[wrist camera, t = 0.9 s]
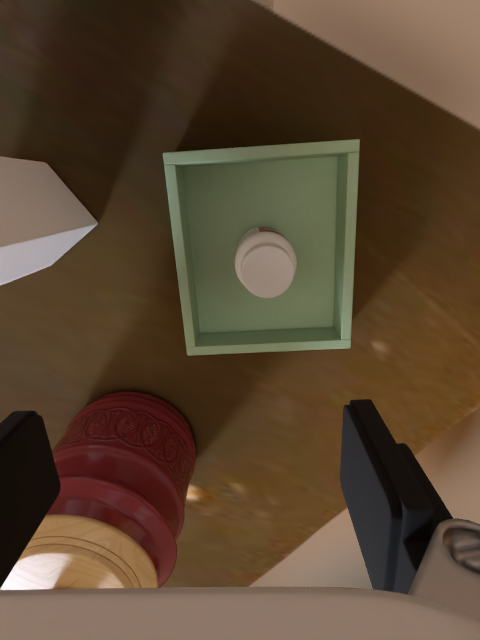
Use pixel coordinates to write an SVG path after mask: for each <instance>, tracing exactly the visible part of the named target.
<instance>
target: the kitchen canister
mask: <svg viewBox="0 0 480 640" xmlns="http://www.w3.org/2000/svg"><path fill="white" fill-rule="evenodd" d="M52 454H53V458H54V461H55V465H56V469H57V472H58V476H59V479H60V484H61V488H60V492H59V495H58V497H57V499H56V500H55V502H54V503H53V505H52V507H51V508H50V510H49V511H48V513H47V515H46V516H45V518H44V519H43V521H42V523H41V524H40V526H39V527H38V529H37V531H36V532H35V534H34V535H33V537H32V539H31V540H30V542H29V543H28V545H27V547H26V548H25V550H24V551H23V553H22V555H21V556H20V558H19V559H18V561H17V563H16V564H15V566H14V567H13V569H12V571H11V572H10V574H9V575H8V577H7V579H6V580H5V582H4V583H3V585H2V587H1V588H0V590H36V589H96V588H161V587H162V586H163V585H164V584H165V583H166V581H167V580H168V579H169V577H170V575H171V573H172V572H173V569H174V567H175V563H176V558H177V545H176V539H177V538H178V536H179V534H180V532H181V530H182V527H183V523H184V506H185V501H186V496H187V491H188V486H189V482H190V480H191V477H192V475H193V471H194V465H195V458H196V453H195V443H194V437H193V434H192V431H191V428H190V427H189V425H188V423H187V421H186V420H185V419H184V417H183V416H182V415H181V414H180V413H179V412H178V411H177V410H176V409H175V408H174V407H172V406H171V405H169V404H168V403H166V402H165V401H163V400H161V399H159V398H156V397H154V396H151V395H148V394H144V393H138V392H117V393H112V394H108V395H105V396H103V397H101V398H99V399H97V400H95V401H94V402H92V403H91V404H90V405H88V406H87V407H85V408H84V409H83V410H82V411H80V412H79V413H78V414H77V416H76V417H75V418H74V419H73V421H72V422H71V423H70V425H69V426H68V428H67V430H66V432H65V434H64V436H63V437H62V439H61V440H60V441H59V443H58V444H57V445H56V447H55V448H54V449H53V451H52Z"/></svg>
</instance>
